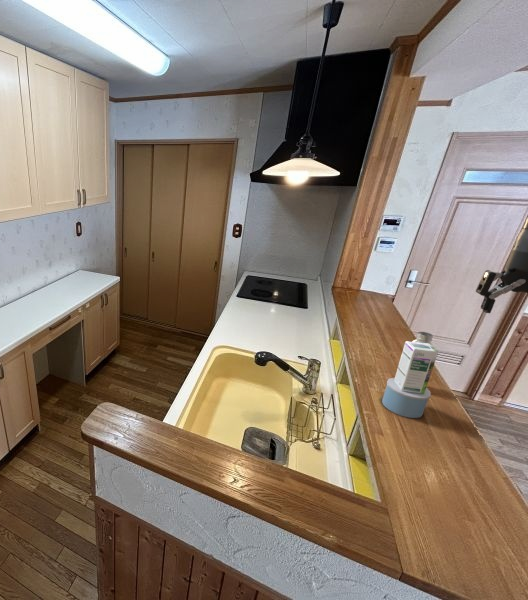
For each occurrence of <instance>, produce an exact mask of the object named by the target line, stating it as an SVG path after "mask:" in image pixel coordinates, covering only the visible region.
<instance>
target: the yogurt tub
mask: <svg viewBox="0 0 528 600" xmlns="http://www.w3.org/2000/svg"><path fill="white" fill-rule="evenodd" d="M394 379H395V377H390V378H388V379H387V380H386V387H385V389H384V393H383V395H382V399H381V402H382V405H383V406H384V407H385V408H386V409H387V410H389V411H390V412H392V413H394V414H396V415H398V416H401V417H405V418H409V419H419V418H422V416H423V414H424V412H425V410H426V406H427V404H428V401H429V399H430V397H431V396H432V392H431V391H430V389H429V388H427V387H426V390H425V393H424V394H420V393H414V392H407V391H401V390H400V388H399V387H398V386H397V384H396V383H395V381H394Z"/></svg>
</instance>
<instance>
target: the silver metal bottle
mask: <svg viewBox="0 0 528 600" xmlns="http://www.w3.org/2000/svg"><path fill="white" fill-rule="evenodd" d="M416 334H417V335H416V339H414V340H412V341H411V342H418V343H429V344H430V345H432V346H433V344H432V341H433V338H434V335H433V334H432V333H429V332H427V331H418V332H417V333H416Z"/></svg>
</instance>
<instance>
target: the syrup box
mask: <svg viewBox="0 0 528 600" xmlns="http://www.w3.org/2000/svg"><path fill="white" fill-rule="evenodd" d="M438 355H439V351H438V350H437V349H436V347H434V346H433V344H432V345H430V344H429V343H418V342H412V341H410V340H409V341H408V340H406V341H405V342H404V345H403V349H402V352H401V356H400V358H399V362H398V365H397V369H396V372H395V376H394V378H395V379H394V381H395V383H396V384H397V386H398V387H399V388H400V390H401V391H407V392H414V393H420V394H424V393H425V390H426V388H427V386H428V385H429V381H430V378H431V375H432V373H433V369H434V366H435V363H436V360H437V358H438Z"/></svg>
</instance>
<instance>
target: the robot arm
mask: <svg viewBox="0 0 528 600" xmlns="http://www.w3.org/2000/svg"><path fill="white" fill-rule="evenodd" d="M499 278H500V280H501V281H500V282H498V283H496V284H495V285H494V286H493V287H492V285H493V282H495V281H497V280H498V279H499ZM491 287H492V288H491ZM510 291H511V292H514V293H526V294H528V214H527V215H526V218H525V220H524V222H523V225H522V228H521V229H520V232H519V233H518V235H517V236H516V239H515V241H514V243H513V244H512V249H511V251H510V254H509V256H508V259H507V261H506V264H505V266H504V269H503V271H501V272H496V271H492V270H489V269H486V270H484V272H483V274H482V275H481V278H480V280H479V283H478V284H477V287H476V289H475V292H476V294H479V295H480V296H482V297H483V300H482V302H481V305H480V309H481V310H482V312H483V313H485V314H491V312H492V310H493V308H494V305H495V303H496V298H499V297H500V296H501V295H505V294H507V293H509V292H510Z"/></svg>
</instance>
